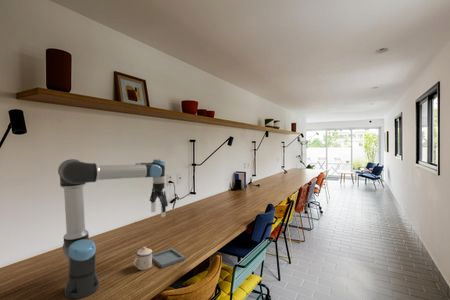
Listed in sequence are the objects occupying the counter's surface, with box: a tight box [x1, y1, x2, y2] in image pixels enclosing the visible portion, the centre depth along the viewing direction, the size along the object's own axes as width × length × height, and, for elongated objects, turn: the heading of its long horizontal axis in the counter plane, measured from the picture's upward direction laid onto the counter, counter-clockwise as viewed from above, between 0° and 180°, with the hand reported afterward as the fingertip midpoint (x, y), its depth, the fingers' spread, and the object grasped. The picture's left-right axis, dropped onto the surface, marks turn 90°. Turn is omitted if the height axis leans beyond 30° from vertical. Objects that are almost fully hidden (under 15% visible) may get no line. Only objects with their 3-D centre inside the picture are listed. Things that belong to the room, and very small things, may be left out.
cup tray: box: [152, 248, 186, 269], centre depth 159 cm, size 16×16×2 cm
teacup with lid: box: [133, 246, 153, 271], centre depth 147 cm, size 12×9×12 cm
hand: (158, 214), depth 165 cm, fingers open, 13 cm apart
